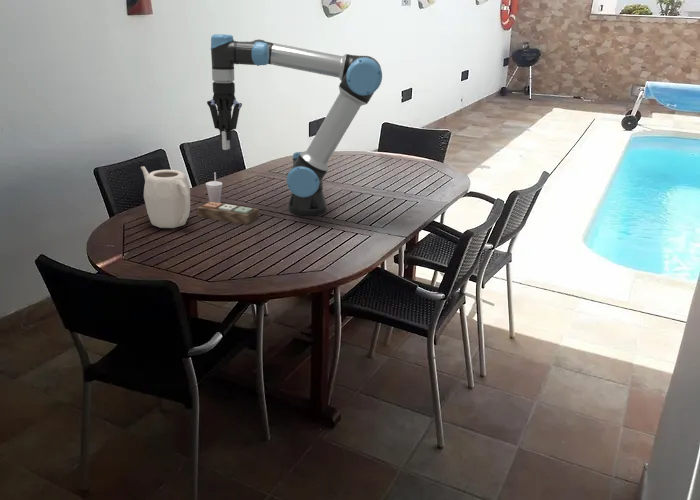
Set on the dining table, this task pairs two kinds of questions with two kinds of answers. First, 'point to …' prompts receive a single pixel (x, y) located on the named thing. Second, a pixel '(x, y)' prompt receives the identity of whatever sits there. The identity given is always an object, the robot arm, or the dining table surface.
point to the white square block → (228, 207)
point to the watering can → (166, 197)
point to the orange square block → (213, 205)
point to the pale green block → (243, 210)
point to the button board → (228, 215)
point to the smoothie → (214, 190)
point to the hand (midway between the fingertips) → (226, 148)
